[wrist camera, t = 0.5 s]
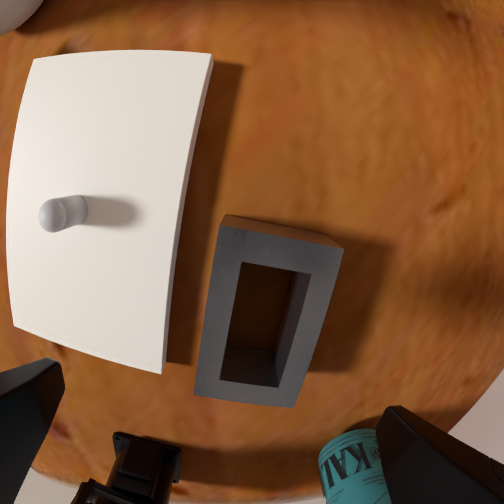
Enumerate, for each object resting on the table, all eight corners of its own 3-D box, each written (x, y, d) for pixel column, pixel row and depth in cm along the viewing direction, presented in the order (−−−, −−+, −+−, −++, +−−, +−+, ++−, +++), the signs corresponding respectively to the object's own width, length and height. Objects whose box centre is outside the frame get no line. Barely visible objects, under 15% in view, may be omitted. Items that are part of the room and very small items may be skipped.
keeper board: (165, 362, 20) (148, 406, 15) (23, 318, 19) (-11, 344, 14) (213, 63, 15) (203, 27, 11) (44, 64, 14) (5, 46, 10)
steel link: (285, 370, 20) (293, 407, 16) (201, 358, 20) (193, 394, 16) (324, 233, 18) (344, 249, 14) (225, 214, 18) (219, 224, 14)
